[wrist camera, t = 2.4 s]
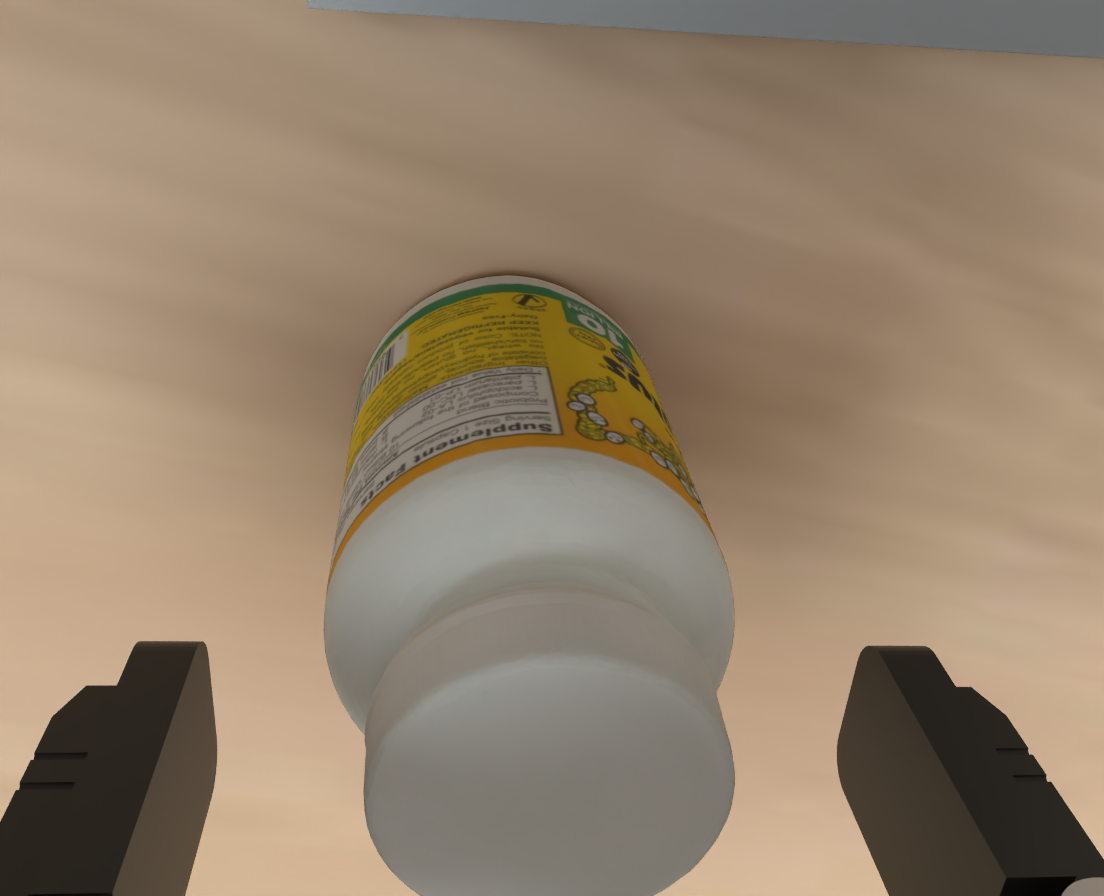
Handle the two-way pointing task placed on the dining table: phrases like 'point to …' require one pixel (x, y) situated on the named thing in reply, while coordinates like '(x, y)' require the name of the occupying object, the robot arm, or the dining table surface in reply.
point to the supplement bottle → (528, 606)
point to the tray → (805, 19)
